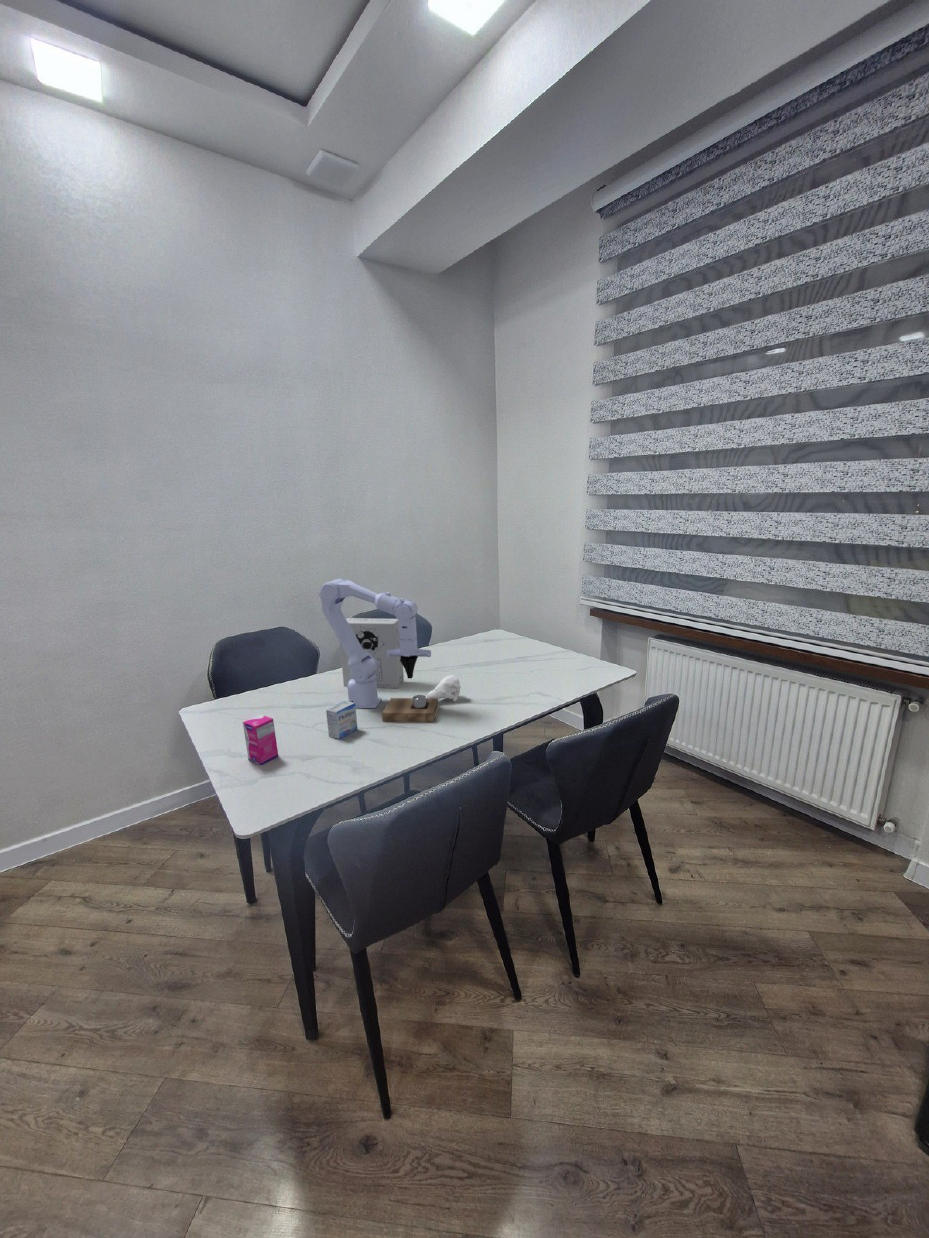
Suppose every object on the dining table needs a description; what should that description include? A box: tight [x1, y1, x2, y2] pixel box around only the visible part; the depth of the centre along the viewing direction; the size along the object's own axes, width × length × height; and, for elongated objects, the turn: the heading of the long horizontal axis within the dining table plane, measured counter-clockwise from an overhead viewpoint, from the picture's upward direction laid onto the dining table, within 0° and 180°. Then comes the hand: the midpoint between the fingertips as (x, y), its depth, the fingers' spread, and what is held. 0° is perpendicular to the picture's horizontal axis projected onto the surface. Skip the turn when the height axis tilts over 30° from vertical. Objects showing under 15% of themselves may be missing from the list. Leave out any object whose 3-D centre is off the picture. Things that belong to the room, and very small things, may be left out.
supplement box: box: [242, 713, 279, 766], centre depth 133 cm, size 6×6×12 cm
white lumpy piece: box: [426, 674, 462, 703], centre depth 169 cm, size 6×8×12 cm
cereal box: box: [339, 617, 405, 689], centre depth 185 cm, size 22×8×25 cm, turn 80°
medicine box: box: [325, 700, 358, 740], centre depth 147 cm, size 8×4×9 cm, turn 148°
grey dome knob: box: [412, 694, 427, 709], centre depth 159 cm, size 4×4×6 cm
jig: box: [381, 697, 439, 723], centre depth 160 cm, size 16×12×3 cm
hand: (410, 677), depth 164 cm, fingers closed
